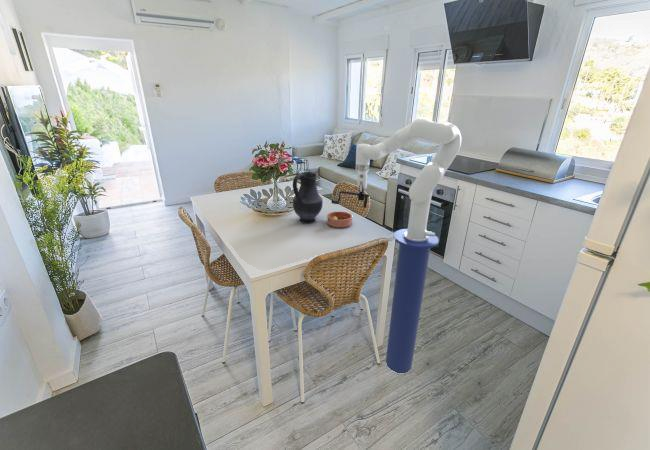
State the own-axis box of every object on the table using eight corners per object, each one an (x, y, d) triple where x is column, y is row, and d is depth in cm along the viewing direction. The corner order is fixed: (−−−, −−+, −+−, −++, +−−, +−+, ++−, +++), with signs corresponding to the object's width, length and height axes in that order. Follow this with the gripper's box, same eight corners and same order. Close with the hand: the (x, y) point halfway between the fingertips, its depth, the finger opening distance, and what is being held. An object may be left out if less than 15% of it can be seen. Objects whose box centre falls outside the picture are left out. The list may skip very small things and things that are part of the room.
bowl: (352, 220, 191) (353, 212, 189) (350, 229, 177) (350, 221, 176) (329, 218, 193) (329, 210, 191) (325, 227, 180) (325, 219, 178)
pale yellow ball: (338, 218, 185) (335, 220, 184) (337, 221, 187) (333, 223, 186) (336, 215, 186) (332, 216, 185) (334, 218, 189) (330, 219, 187)
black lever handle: (367, 206, 180) (369, 193, 178) (367, 208, 176) (369, 195, 173) (332, 201, 183) (333, 188, 180) (330, 203, 179) (332, 190, 176)
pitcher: (327, 219, 191) (328, 170, 179) (307, 230, 175) (306, 178, 163) (304, 213, 200) (304, 166, 188) (283, 223, 184) (281, 173, 172)
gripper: (368, 170, 163) (366, 204, 170) (370, 164, 177) (368, 196, 184) (354, 169, 164) (353, 203, 171) (356, 164, 178) (355, 195, 185)
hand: (361, 199), depth 177 cm, fingers closed on black lever handle, 1 cm apart
